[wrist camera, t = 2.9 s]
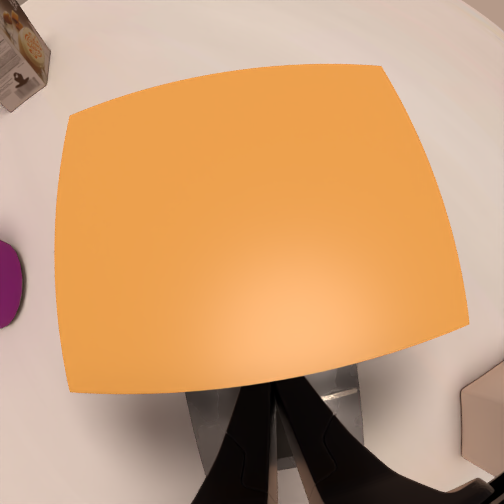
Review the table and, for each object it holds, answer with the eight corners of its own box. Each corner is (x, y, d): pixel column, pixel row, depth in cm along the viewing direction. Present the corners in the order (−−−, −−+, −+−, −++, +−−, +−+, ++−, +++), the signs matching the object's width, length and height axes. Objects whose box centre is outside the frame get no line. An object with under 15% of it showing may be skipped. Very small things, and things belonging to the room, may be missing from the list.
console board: (357, 441, 16) (365, 451, 14) (209, 465, 16) (205, 477, 14) (302, 146, 20) (306, 132, 18) (165, 168, 20) (157, 156, 18)
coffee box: (16, 76, 24) (-37, 10, 9) (51, 50, 25) (3, -24, 9) (9, 114, 23) (-62, 42, 7) (48, 85, 23) (-18, -3, 7)
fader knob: (307, 317, 16) (469, 324, 3) (216, 332, 15) (69, 392, 3) (294, 246, 16) (381, 66, 4) (205, 260, 16) (69, 115, 4)
